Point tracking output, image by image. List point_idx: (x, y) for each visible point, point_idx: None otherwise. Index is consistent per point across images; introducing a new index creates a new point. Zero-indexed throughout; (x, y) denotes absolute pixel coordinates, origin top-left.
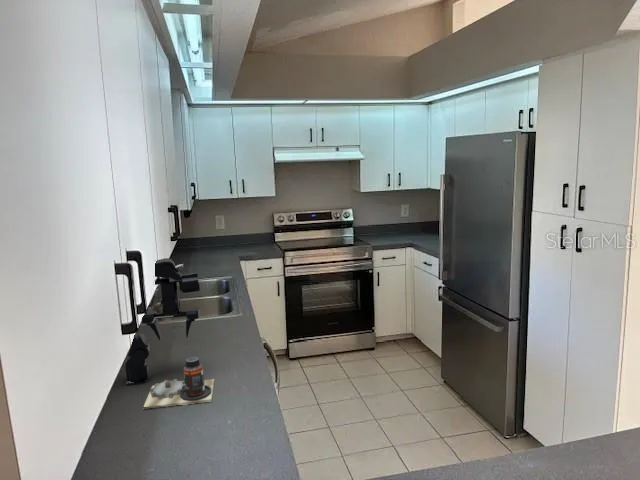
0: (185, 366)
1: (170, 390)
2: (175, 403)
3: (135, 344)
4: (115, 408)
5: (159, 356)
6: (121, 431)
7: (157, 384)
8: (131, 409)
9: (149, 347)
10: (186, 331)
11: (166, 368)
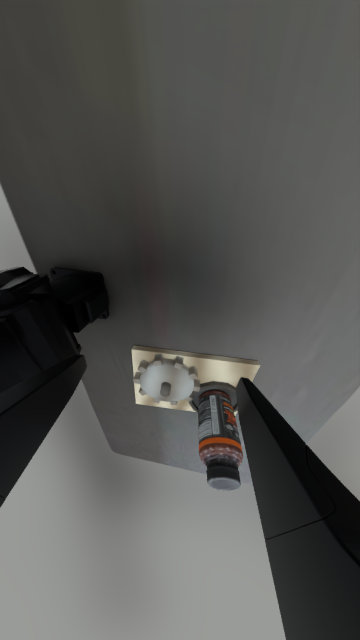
0: (204, 462)
1: (172, 396)
2: (182, 409)
3: None
4: (92, 383)
5: (73, 26)
6: (124, 424)
7: (143, 371)
8: (118, 392)
9: (50, 329)
10: (248, 449)
11: (143, 236)
